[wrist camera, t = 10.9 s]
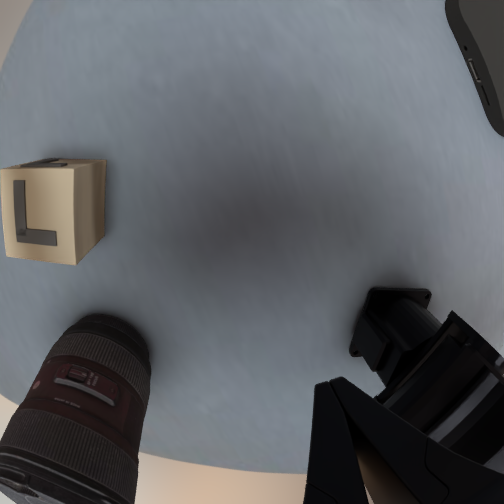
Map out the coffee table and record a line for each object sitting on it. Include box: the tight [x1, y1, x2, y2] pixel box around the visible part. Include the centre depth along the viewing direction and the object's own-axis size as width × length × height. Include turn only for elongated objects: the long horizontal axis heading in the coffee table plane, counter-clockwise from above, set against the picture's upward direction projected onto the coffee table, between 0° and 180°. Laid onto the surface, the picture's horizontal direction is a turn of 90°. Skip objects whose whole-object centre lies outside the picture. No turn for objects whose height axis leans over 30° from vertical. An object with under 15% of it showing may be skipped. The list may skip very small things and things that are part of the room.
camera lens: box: [0, 315, 151, 504], centre depth 15 cm, size 8×8×15 cm
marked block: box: [1, 159, 107, 265], centre depth 15 cm, size 5×5×5 cm
